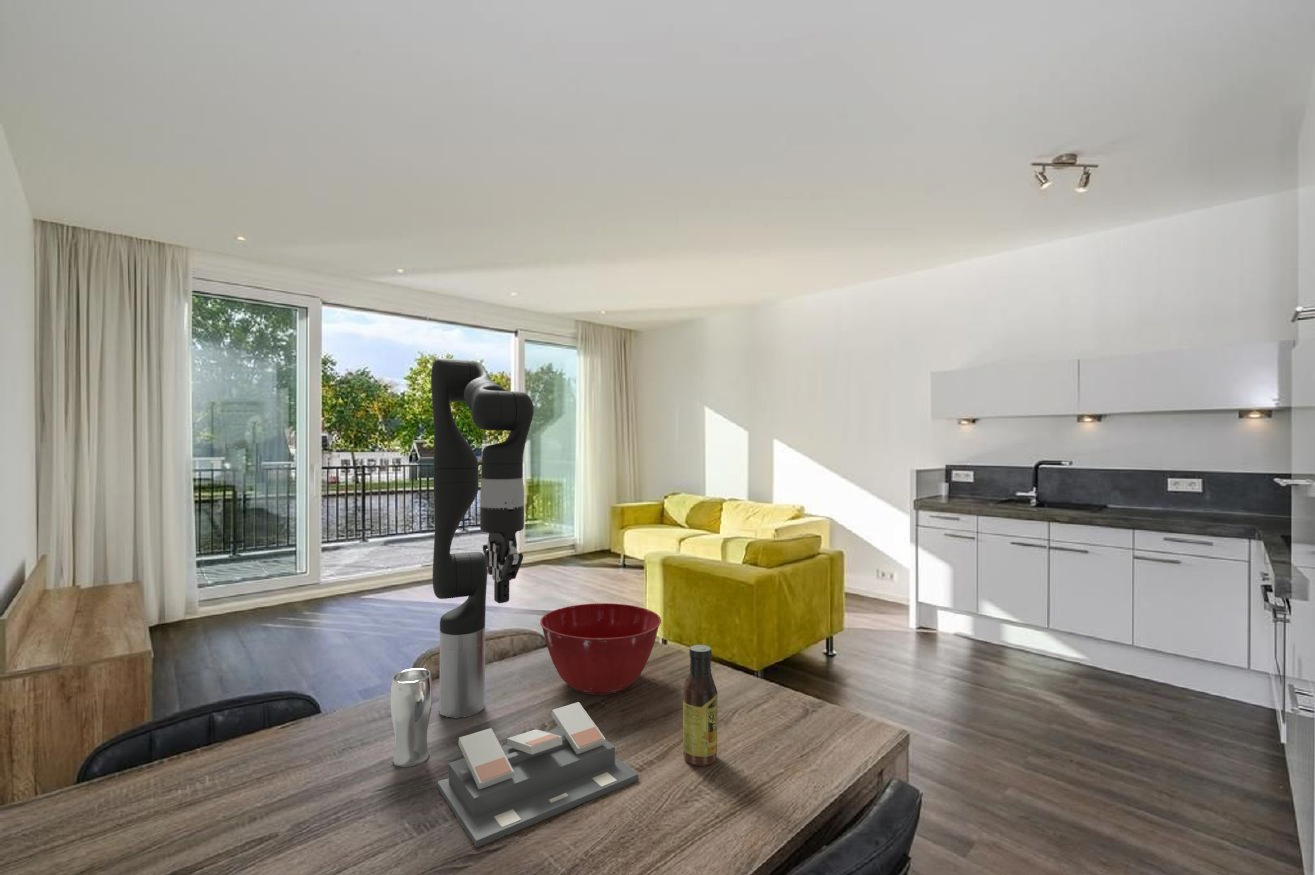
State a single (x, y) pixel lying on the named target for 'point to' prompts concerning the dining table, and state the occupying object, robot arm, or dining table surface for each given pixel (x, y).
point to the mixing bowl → (600, 644)
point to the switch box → (532, 788)
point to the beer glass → (411, 715)
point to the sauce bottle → (700, 709)
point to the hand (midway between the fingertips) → (501, 601)
